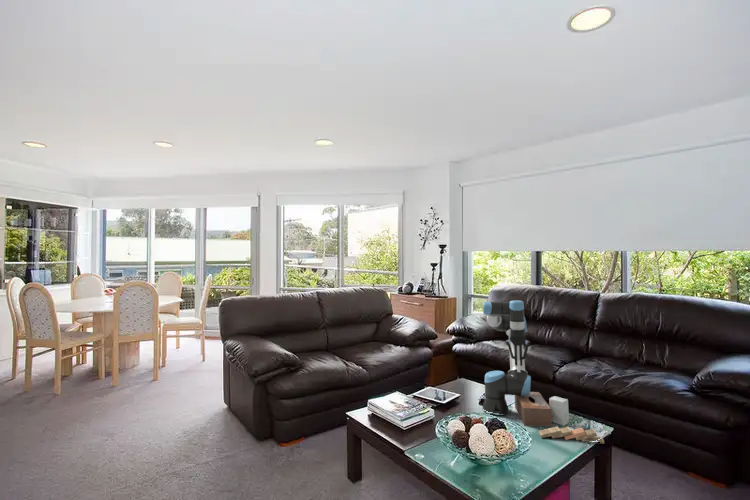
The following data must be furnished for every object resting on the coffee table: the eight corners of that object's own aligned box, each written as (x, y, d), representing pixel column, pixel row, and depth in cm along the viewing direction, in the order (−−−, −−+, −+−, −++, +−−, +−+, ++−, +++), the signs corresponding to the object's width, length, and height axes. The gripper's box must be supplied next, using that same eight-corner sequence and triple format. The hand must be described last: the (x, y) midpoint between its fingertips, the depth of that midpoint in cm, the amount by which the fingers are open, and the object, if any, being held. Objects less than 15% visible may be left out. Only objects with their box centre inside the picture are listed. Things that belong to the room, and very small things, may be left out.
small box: (569, 422, 220) (568, 399, 220) (563, 426, 216) (563, 402, 216) (555, 418, 226) (554, 395, 226) (549, 421, 222) (548, 398, 222)
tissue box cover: (551, 427, 216) (551, 408, 216) (524, 426, 218) (523, 407, 218) (539, 408, 241) (538, 392, 241) (515, 407, 243) (514, 391, 243)
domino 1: (540, 435, 203) (559, 430, 201) (538, 430, 208) (557, 426, 206) (541, 438, 203) (561, 433, 201) (539, 433, 207) (558, 429, 205)
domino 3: (575, 437, 199) (596, 432, 196) (573, 433, 203) (593, 428, 200) (576, 440, 198) (597, 435, 195) (575, 436, 203) (595, 431, 200)
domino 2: (551, 435, 202) (571, 431, 200) (549, 431, 207) (568, 426, 205) (552, 438, 202) (572, 434, 200) (550, 434, 206) (569, 429, 205)
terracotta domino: (564, 436, 200) (584, 431, 198) (562, 432, 205) (582, 427, 202) (565, 439, 200) (585, 434, 197) (563, 435, 205) (583, 430, 202)
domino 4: (581, 439, 198) (604, 441, 195) (579, 434, 203) (601, 436, 200) (581, 442, 198) (604, 444, 195) (579, 437, 203) (601, 440, 200)
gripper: (505, 329, 215) (506, 372, 215) (530, 330, 212) (532, 374, 212) (504, 327, 223) (506, 368, 222) (529, 327, 219) (530, 370, 219)
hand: (518, 371), depth 217 cm, fingers closed
